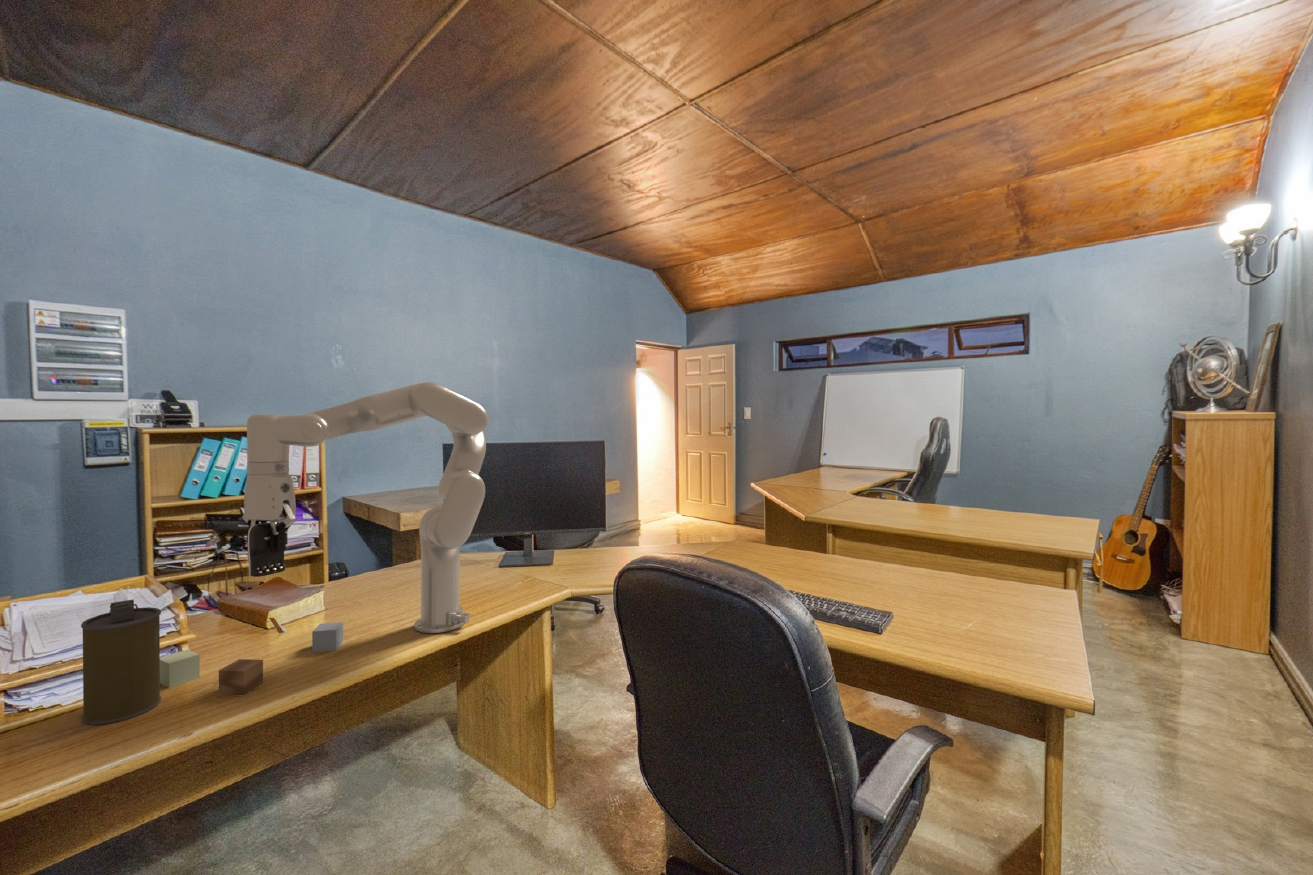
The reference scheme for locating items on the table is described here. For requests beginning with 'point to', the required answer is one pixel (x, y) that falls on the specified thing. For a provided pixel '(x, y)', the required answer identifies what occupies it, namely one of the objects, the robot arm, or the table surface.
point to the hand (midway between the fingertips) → (269, 549)
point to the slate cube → (327, 637)
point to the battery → (263, 552)
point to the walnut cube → (240, 677)
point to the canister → (121, 663)
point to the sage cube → (179, 668)
